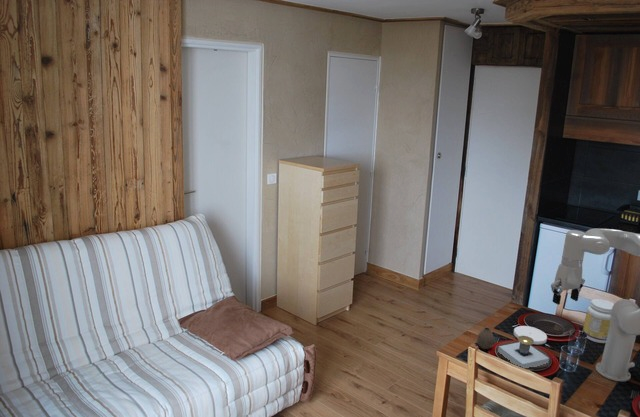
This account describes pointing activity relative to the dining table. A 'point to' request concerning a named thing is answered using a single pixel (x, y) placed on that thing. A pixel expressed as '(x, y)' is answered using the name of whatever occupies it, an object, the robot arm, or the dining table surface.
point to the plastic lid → (531, 334)
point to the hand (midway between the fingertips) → (564, 301)
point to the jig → (517, 359)
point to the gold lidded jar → (525, 345)
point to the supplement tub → (598, 320)
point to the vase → (485, 338)
